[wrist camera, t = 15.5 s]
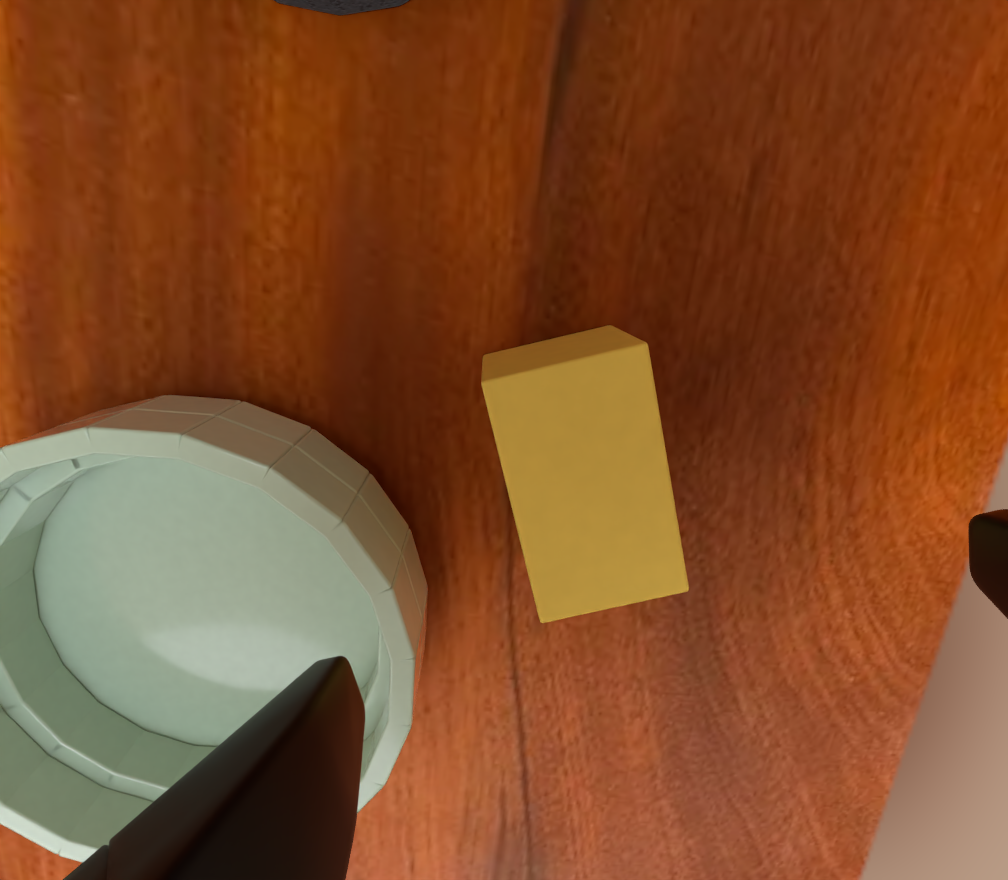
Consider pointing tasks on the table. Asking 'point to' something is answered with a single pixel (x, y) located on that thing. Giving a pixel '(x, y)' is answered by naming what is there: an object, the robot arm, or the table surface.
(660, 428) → the sponge
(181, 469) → the bowl
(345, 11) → the mug
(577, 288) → the table surface
